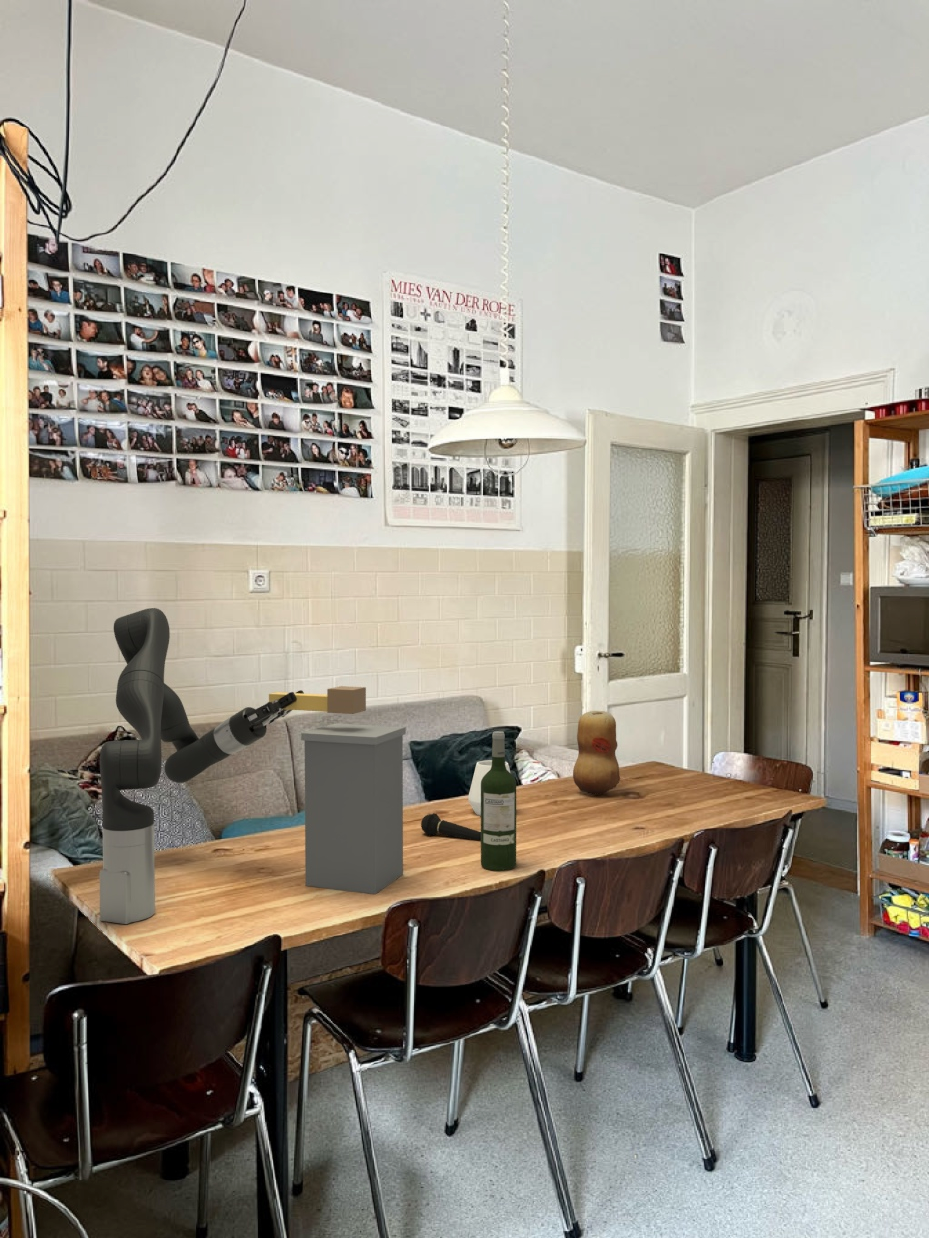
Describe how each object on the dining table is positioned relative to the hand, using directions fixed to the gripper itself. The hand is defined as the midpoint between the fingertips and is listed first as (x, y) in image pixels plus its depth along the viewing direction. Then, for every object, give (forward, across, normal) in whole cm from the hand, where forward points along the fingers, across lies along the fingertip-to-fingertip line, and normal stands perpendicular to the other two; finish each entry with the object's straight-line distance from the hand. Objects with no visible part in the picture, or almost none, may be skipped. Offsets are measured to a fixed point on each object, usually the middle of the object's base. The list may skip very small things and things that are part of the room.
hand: (298, 695), depth 204 cm
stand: (-8, 0, +40) cm, 41 cm away
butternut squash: (+18, +100, +56) cm, 116 cm away
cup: (-1, +67, +45) cm, 81 cm away
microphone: (-1, +39, +45) cm, 59 cm away
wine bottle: (+14, +20, +53) cm, 59 cm away
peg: (+2, 0, +5) cm, 5 cm away
